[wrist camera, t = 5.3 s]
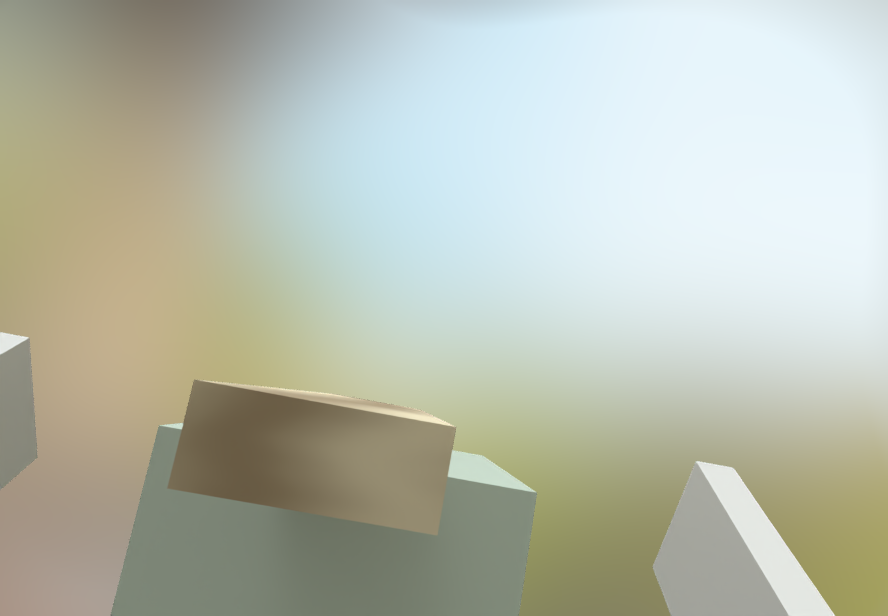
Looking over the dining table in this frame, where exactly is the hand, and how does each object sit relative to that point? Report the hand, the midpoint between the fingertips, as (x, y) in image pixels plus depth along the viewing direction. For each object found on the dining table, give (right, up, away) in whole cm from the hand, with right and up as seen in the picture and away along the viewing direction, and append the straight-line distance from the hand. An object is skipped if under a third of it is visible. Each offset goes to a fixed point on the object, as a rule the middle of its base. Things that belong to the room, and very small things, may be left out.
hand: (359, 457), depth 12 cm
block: (-1, -2, +8) cm, 9 cm away
